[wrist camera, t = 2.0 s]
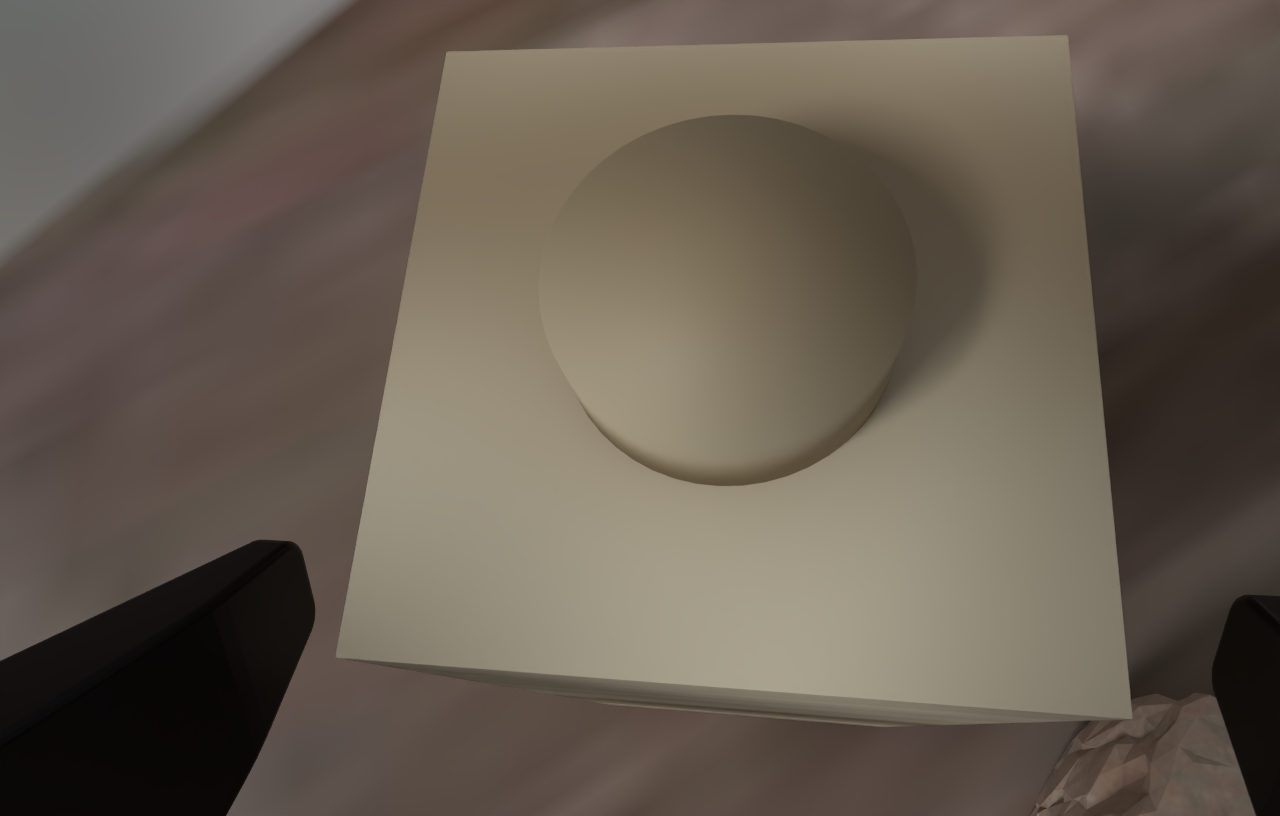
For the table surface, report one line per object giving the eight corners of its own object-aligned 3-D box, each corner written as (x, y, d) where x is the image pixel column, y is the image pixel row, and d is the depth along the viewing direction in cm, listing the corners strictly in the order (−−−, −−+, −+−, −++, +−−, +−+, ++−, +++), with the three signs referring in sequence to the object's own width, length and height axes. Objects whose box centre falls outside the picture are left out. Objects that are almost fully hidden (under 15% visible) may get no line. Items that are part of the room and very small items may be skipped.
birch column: (880, 727, 16) (1193, 718, 5) (612, 704, 17) (275, 646, 5) (878, 464, 18) (1103, -49, 6) (634, 455, 19) (412, -22, 7)
